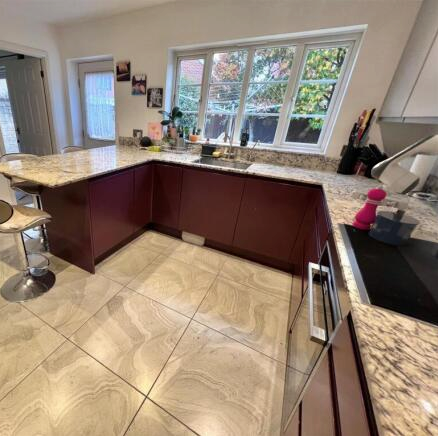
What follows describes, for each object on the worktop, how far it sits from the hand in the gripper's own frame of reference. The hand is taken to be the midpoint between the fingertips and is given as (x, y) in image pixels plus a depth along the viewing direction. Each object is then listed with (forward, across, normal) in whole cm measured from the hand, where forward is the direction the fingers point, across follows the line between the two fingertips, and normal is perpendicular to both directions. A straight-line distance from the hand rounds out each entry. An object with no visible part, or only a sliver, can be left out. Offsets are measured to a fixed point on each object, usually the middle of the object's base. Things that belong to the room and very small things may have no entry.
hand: (375, 201), depth 107 cm
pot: (+13, +9, +11) cm, 19 cm away
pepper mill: (+8, 0, +11) cm, 13 cm away
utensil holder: (-57, -4, +11) cm, 59 cm away
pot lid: (+13, +9, +1) cm, 16 cm away
